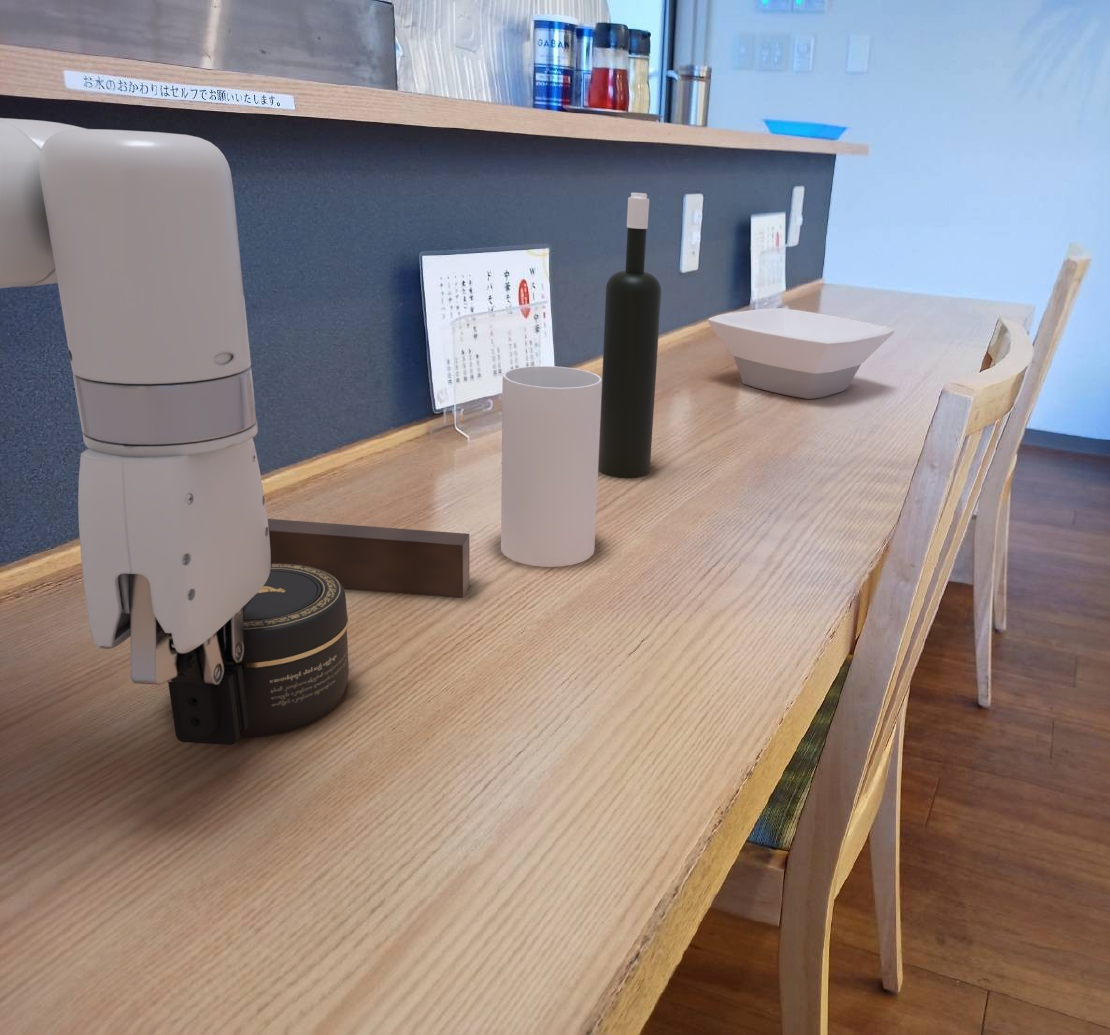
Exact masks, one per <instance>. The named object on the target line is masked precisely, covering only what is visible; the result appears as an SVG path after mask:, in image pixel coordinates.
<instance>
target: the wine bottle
mask: <svg viewBox="0 0 1110 1035" xmlns="http://www.w3.org/2000/svg"><path fill="white" fill-rule="evenodd" d="M649 210H650V198H648V194H647V193H645V192H644V193H643V192H633V191H632V192H630V196H629V197H627V214H626V228H627V231H626V232H627V233H626V250H625V251H626V252H625V253H626V254H625V268H624V270H620V271H617V272H615V273H613V274H612V275H611V276H610V277H609V279H608V280H607V283H606V287H605V303H604V326H603V327H604V328H603V349H602V350H603V351H602V371H601V372H602V374H601V379H602V392H601V415H600V438H599V460H598V472H600V473H601V474H603V475H604V476H607V477H612V478H617V479H638V478H644V477H646V476H648V475H650V473H651V458H652V443H653V427H654V411H655V396H656V379H657V378H656V377H657V365H658V364H657V363H658V351H659V350H658V349H659V334H660V333H659V332H660V317H661V303H662V302H661V301H662V287H661V283H660V281H659V280H658V278H657V277H656V276H655V275H653V274H651V273H649V272H646V271H645V265H646V264H645V263H646V248H647V246H646V245H647V233H648V232H647V231H648V228H649V215H650V214H649V213H650V212H649Z"/></svg>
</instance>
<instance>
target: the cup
mask: <svg viewBox="0 0 1110 1035" xmlns="http://www.w3.org/2000/svg"><path fill="white" fill-rule="evenodd" d="M501 390H502V396H501V397H502V398H501V400H502V401H501V489H500V490H501V491H500V492H501V494H500V495H501V501H500V502H501V504H500V505H501V506H500V512H501V513H500V516H501V517H500V551H501V553H502V554H503V556H505V557H506V558H507V559H510V560H511V561H514V562H516V563H519V564H524V565H527V566H534V567H543V568H551V567H552V568H557V567H567V566H573V565H576V564H579V563H582V562H585V561H587V560H588V559H590V558H591V557H592V556H593V555H594V553H595V545H596V524H597V523H596V521H597V520H596V519H597V505H598V504H597V501H598V483H599V482H598V480H599V470H598V461H599V439H600V416H601V393H602V376H600V375H598V374H597V373H595V372H591V371H588V370H584V369H579V368H573V367H565V366H556V365H555V366H554V365H534V366H533V365H531V366H522V367H521V366H520V367H515V368H511V369H508V370H506V371H505V372H504V373H503V374H502V389H501Z"/></svg>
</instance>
